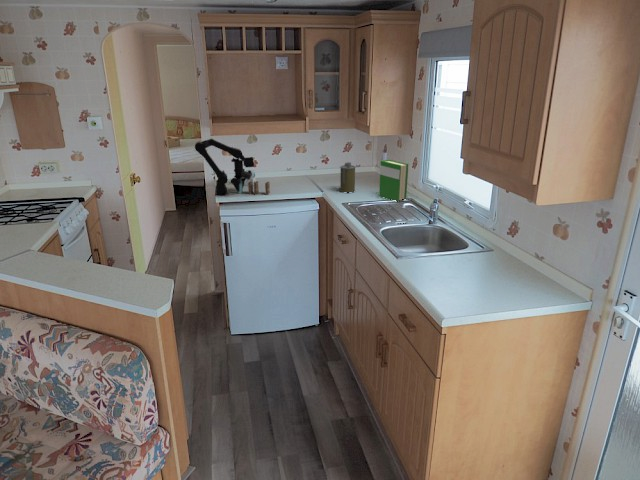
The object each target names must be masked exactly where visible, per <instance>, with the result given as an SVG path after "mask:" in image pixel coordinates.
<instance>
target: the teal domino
mask: <svg viewBox="0 0 640 480" xmlns="http://www.w3.org/2000/svg"><path fill="white" fill-rule="evenodd" d="M243 191H244V187H242V181H241V184H240V187H239V192H237V194H238V193H239V194H238V195H241V194H243Z"/></svg>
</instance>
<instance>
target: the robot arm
mask: <svg viewBox="0 0 640 480" xmlns="http://www.w3.org/2000/svg"><path fill="white" fill-rule="evenodd" d="M211 146H212V147H214V148H217V149H218V150H219V149H220V150H222V151H224V152H226V153H227V154H229V155H231V157H232V159H231V160H230V162H231V163H234V167H233V168H234V169H233V172H234V176H233V177H232V178H230V182H231V184H232V185H233V187H234V188H235V190H236V192H237V193H238V192H239V187H240V184H241V181H242V187H243V188H244V187H245V186H244V182H245V180H246V179H250V178H251V176H252V173H251V171H250V170H251V169H248V170H249V171H248V172H247V171H245V170H246V169H245V168H255V162H254V157H253V156H249V157H245V155H243V152H242V150H241V149H240V148H237V147H233V146H229V145H227V144H225V143H222V142H220V141H218V140H216V139H214V138H209V139H206V140H202V141H200V140H199V141H196V142H195V143H194V149H195V151H197V153H198V154H200V155H201V156H202V157H203V159H204V160H205V161H206V163H208V166H209V167H210V168H211V169H212V171H213V172H214V174H215V175H216V177H217V180H216V181H215V183H216V184H215V196H226V195H227V194H228V187H227V185H226V184H227V183H228V180H229V179H228V174H227V173H226V171H225V170H224V169H223V170H222V169H220V168H219V166H218V165H217V164H216V162H215V161H214V159H213V158H212V157H211V156H210V154H209V152H208V151H207V148H209V147H211ZM244 167H245V168H244ZM225 194H226V195H225Z"/></svg>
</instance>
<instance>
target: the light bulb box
mask: <svg viewBox="0 0 640 480" xmlns="http://www.w3.org/2000/svg"><path fill="white" fill-rule="evenodd" d="M244 170H245V171H247V172H248V171H249V170H250V171H251V173H252V176H251V178H250V179H246V180H245V182H244V187H245V186H246V187H247V186H248V183H249V182H250V181H253V187H254V182H256V170H255V169H244Z"/></svg>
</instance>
